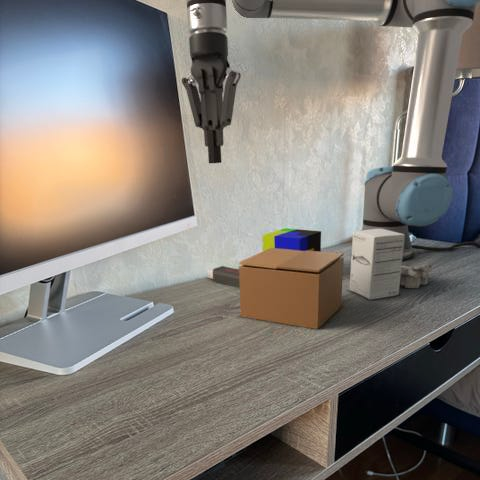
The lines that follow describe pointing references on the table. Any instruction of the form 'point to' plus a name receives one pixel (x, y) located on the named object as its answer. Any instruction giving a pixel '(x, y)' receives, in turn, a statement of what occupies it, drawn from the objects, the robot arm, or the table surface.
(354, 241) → the white packaging box
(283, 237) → the puzzle toy
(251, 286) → the carton
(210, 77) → the robot arm
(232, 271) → the usb drive
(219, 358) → the table surface
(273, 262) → the flap
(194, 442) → the table surface
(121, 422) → the table surface
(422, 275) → the egg carton
